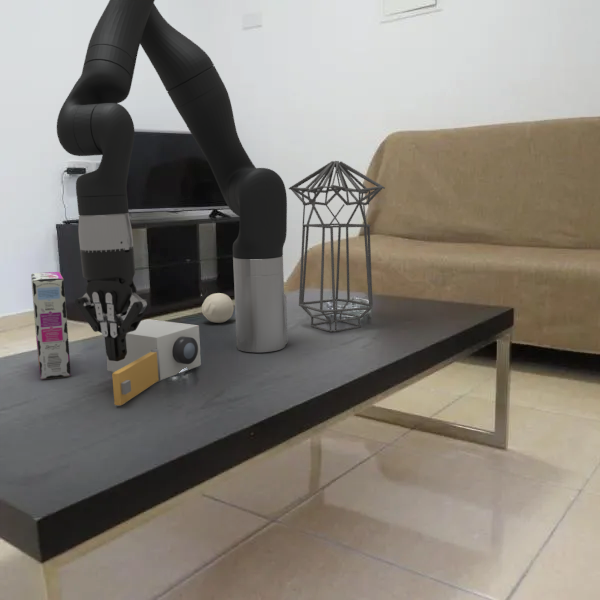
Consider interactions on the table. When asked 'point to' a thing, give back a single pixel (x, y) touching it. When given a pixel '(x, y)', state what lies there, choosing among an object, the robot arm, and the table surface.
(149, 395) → the table surface
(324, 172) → the geometric lantern
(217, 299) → the cream round ball
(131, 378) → the side door
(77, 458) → the table surface
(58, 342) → the candy bar box
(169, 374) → the block
